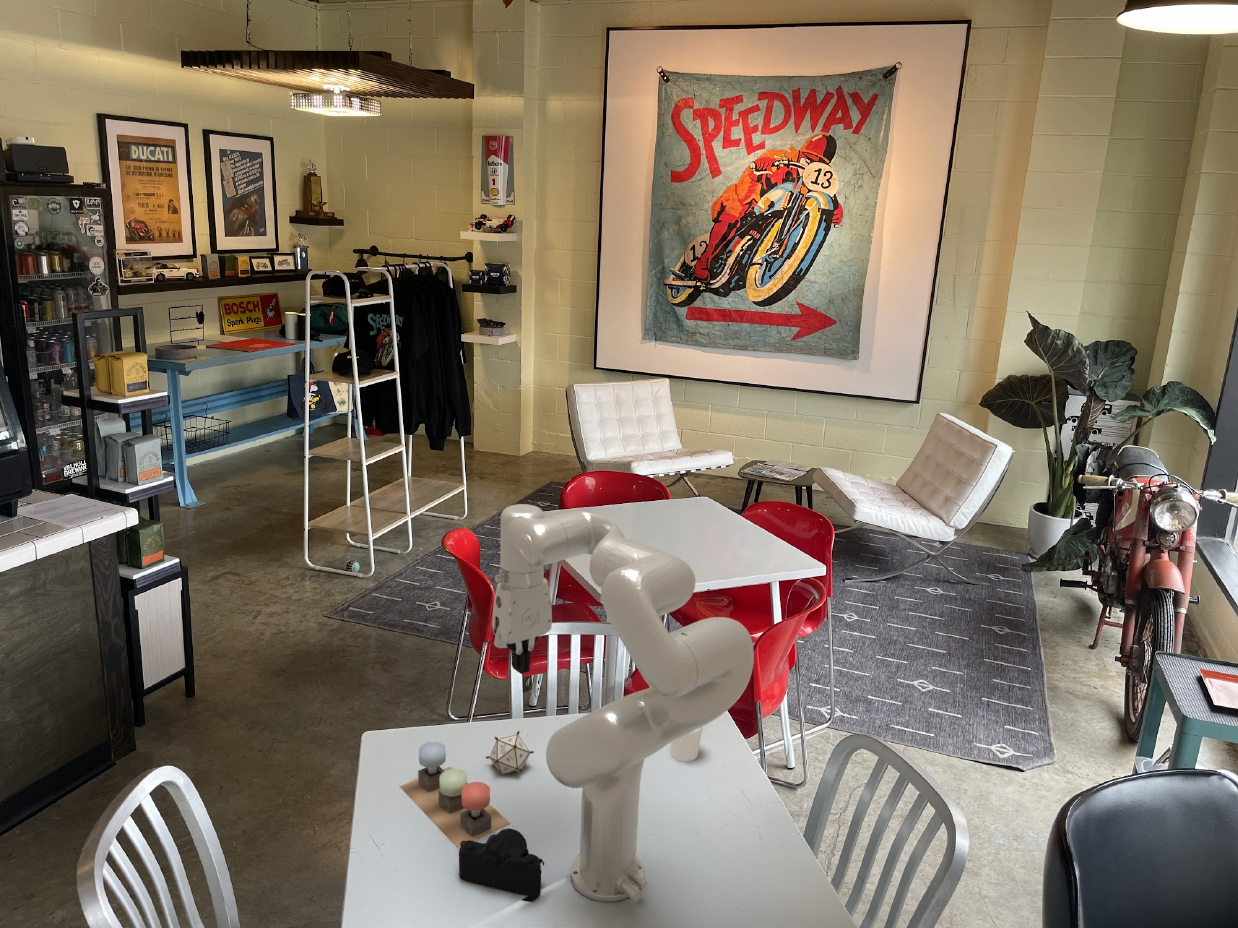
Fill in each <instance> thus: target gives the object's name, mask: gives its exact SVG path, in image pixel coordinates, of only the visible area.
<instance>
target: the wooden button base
mask: <svg viewBox="0 0 1238 928" xmlns="http://www.w3.org/2000/svg"><path fill="white" fill-rule="evenodd" d="M450 769H453V768H452V767H451V766H448V767H446V768H442V767H441V765H440V766H438V767H437V772H436V773H435V774H429V773H428V768H427V767H424V768H421V769H419V770H417V776H418V778H417V779H414V780H412V781H409V782H407V783H405V784H402V785H399V788H400V789H401V791H403V792H404V793H405V794H406V795H407V797H409V798H410V799H411V800H412V801H413V803H414V804H415V805H417V807H418V808H419V809H420V810H421V811H422V812H423V813H424V815H426V816H427V818H428V819H429V820H430V821H431V822H432V823H433V824H434V825H435V826H436V827H437V829H439V830H440V831H441V833H442V834H444V835H445V836H446V838H447V839H448V840H449V841H450V842H451V843H452V844H453V845H454V846H455V847H456V849H458V848H459V849H460V847H461V846H460V843H461V842H462V841H468V840H471V841H476V840H478V839H479V840H480V839H481V838H483V837H485V836H488V835H491V834H492V833H494V832H497V831H499V830H500V829H501V830H502V829H504V828H505V827H507V826H509V825H511V822H510V821H508V819H506V818H505V817H504V816H503V815H502V814H501V813H500V812H499V811H498V810H497V809H496V808H494V807H493V806H492V805H491V804H490V803H489V805H488V806H487V807H486V808H484V809H482V810H480V816H479V817H472V816H471V810H467V809H465V808H464V807H463V806H462V794H461V795H458V796H455V797H452V798H450V797H449V796H446V795H443V794H442V793H441V792H440V775H441V774H442V773H443V772H444V771H447V770H450ZM467 784H469V782H467ZM464 843H465V842H464Z"/></svg>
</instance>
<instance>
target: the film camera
mask: <svg viewBox="0 0 1238 928" xmlns="http://www.w3.org/2000/svg"><path fill="white" fill-rule="evenodd" d="M464 842H465V843H464ZM460 846H461V847H459V849H458V875H459V876H458V877H459V879H460V880H461V881H464V882H467V883H470V884H474V885H477V886H481V887H484V888H485V887H486V888H490V889H493V890H494V889H495V890H498V891H502V892H503V891H504V892H507V893H512V894H515V895H519V896H525V897H523V898H521V899H520V901H523V902H528V903H533V902H534V901H535V902H536V901H537V900H538V899H539V897H540V896H541V895H542V866H543V867H544V866H545V862H544V861H543V859H542V858H540V857H539V856H537V855H536V854H534V853H530V852H529V849H528V843H527V840H526V837H524V834H522V833H521V831H518V830H517V829H513V828H508V827H507V828H502V829H501V830H500V831H499V832H498V833H496V834H494V833H493V834H492V833H491V834H490V836H489V837H488V839H487V840H486V841H485V842H478V841H476V840H474V841H471V840H468V841H462V842H461V843H460ZM541 864H542V865H541Z"/></svg>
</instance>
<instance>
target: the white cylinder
mask: <svg viewBox="0 0 1238 928" xmlns="http://www.w3.org/2000/svg"><path fill="white" fill-rule="evenodd" d="M702 733H703V726H702V727H700V728H698V729H696V730H694V731H692V732H691V733H689V734H686V735H684V736H682V737H680V738H678V739H676V740H674V741H672V742H670V755H671V757H672V758H673V759H675V760H676V761H679V762H686V763H687V762H688V763H689V762H693V761H695V760H697V758H698V756H699V755H698V754H699V751H700V750H699V748H700V745H701V744H700V743H701V738H702Z"/></svg>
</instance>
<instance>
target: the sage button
mask: <svg viewBox="0 0 1238 928" xmlns="http://www.w3.org/2000/svg"><path fill="white" fill-rule="evenodd" d="M467 783H468V774H467V773H466V771H464V770H463V769H459V768H452V769H450V770H447V771H444V772H443V773H442V774H441V775H440V792H441V793H442V794H443V795H446V796H449V797H450V798H452V797H455V796H458V795H461V794H462V788H463V787H464V786H465V785H467Z"/></svg>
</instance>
